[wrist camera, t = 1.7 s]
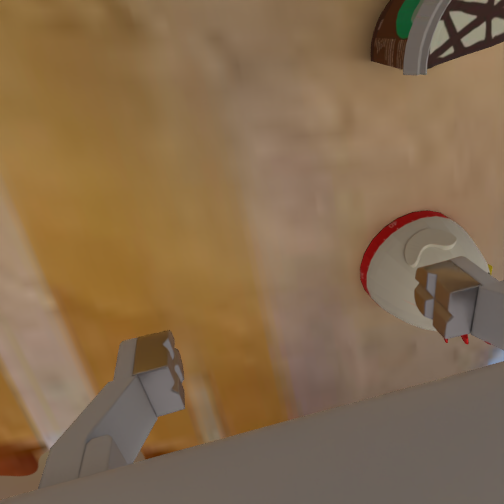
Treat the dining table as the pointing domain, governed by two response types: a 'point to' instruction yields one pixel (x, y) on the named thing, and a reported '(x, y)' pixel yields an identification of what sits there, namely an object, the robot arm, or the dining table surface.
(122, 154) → the dining table surface
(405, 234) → the kitchen timer
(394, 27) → the food container
